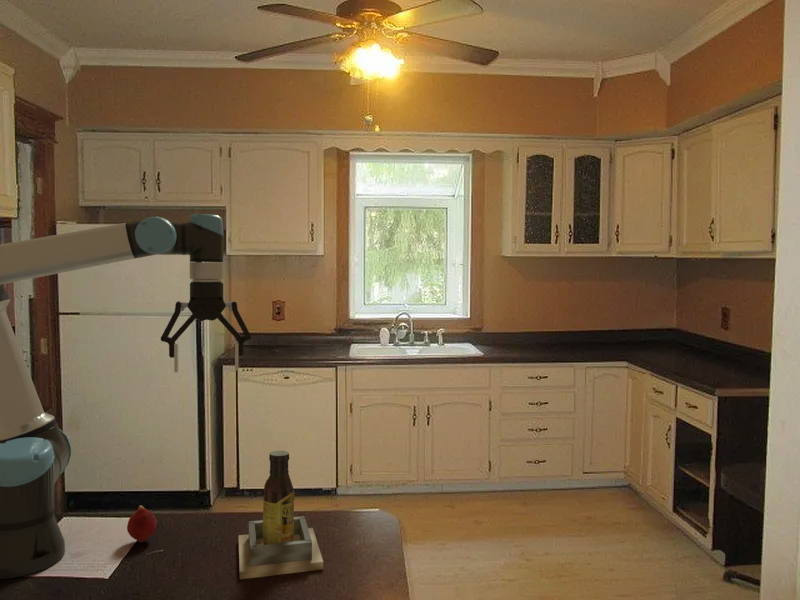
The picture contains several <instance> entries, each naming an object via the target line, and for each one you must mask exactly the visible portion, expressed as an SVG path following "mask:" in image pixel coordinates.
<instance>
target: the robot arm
mask: <svg viewBox="0 0 800 600" xmlns="http://www.w3.org/2000/svg"><path fill="white" fill-rule="evenodd" d="M155 255H159V256H160V255H164V256H166V255H167V256H169V255H171V256H172V255H173V256H175V255H176V256H177V255H178V256H181V255H182V256H187V255H188V256H189V279H190V280H192V281H191V282H190V283H189V301H188V302H185V301H184V302H183V301H181V300H177V301H176V302H175V305H174V306H175V307H174V312H173V313H172V315H171V318H170V320H169V321H168V324H167V325H166V326H165V329H164V331H163V333H162V334H161V337H160V341H161V342H163V343H167V344H168V356H169V358H170V359H171V358H172V359H173V362H174V363H173V365H174V369H173V373H179V370H180V367H179V366H180V365H179V361H180V360H179V355H180V353H179V349H180V346H179V342H176V341H177V340H178V339H180V337H181V336H182V334H184V332H185V331H186V330H187V329H188V328H189V327H190V326H191V324H192V323H193V322H194V321H195V320H197V321H202V322H203V321H212V322H213V321H215V320H217V319H218V321H219V322H220V323H221V324H222V325H223V326H224V327H225V328H226V329H227V331H228V332H229V333H230V334H231V335H232V336H233V337H234V338H235V339H236V341H235V342H234V369H235V370H234V371H239V357H241V356H242V357H243V356H244V343H245V342H246V341H251V339H252V335H251V333H250V331H249V330H248V328H247V325H246V323H245V321H244V320H243V318H242V316H241V314H240V312H239V310H238V302H237V301H236V300H233V301H228V302H226V301H224V283H223V281H222V280H223V279H224V225H223V218H222V217H221V216H219V215H218V214H211V213H210V214H209V213H193V214H190V216H189V220H188V222H187V221H186V222H178V221H177V222H175V221H173V222H172V221H169V220H168V219H166V218H164V217H162V216H161V217H160V216H157V215H156V216H148V217H145V218H144V219H140V220H135V221H129V222H124V223H117V224H111V225H105V226H99V227H93V228H88V229H82V230H77V231H71V232H66V233H65V232H64V233H59V234H54V235H47V236H42V237H35V238H31V239H23V240H19V241H12V242H8V243H2V244H0V580H7V579H15V578H21V577H25V576H29V575H32V573H33V574H36V573H38V572H41V571H43V569H44V570H46V569H47V568H50V567H52V566H53V565H55V564H56V563H58V562H59V561H60V560H61V559H62V558H63V557H64V556H65V553H66V547H65V546H66V543H65V538H64V536H63V533H62V532H61V529H60V526H59V524H58V521H57V519H56V516H55V484H56V482H57V481H58V479H59V478H60V477H61V475H62V474H63V472H64V471H65V470H66V469H67V467H68V465H69V463H70V460H71V456H72V443H71V441H70V438H69V436H68V435H67V434H66V433H65V432H64V431H63V430H62V429H60V427H59V425H58V423H57V421H56V418H55V416H54V415H52V414H49V413H47V412H45V411H44V408H43V406H42V403H41V400H40V397H39V396H38V395H39V394H38V393H37V389H36V386H35V384H34V382H33V379H32V377H31V374H30V371H29V368H28V366H27V363H26V361H25V359H24V356H23V353H22V351H21V348H20V346H19V343H18V341H17V338H16V334H15V332H14V329H13V327H12V324H11V321H10V320H9V316H8V314H7V311H6V309H7V307H8V305H9V304H10V302H11V299H10V296H9V294H8V291H7V288H6V286H5V285H6V284H11V283H15V282H20V281H25V280H26V281H27V280H31V279H37V278H42V277H46V276H47V277H48V276H51V275H56V274H62V273H68V272H73V271H76V270H82V269H87V268H92V267H99V266H102V265H104V266H105V265H108V264H113V263H118V262H123V261H129V260H133V259H140V258H145V257H151V256H155ZM186 308H188V310H189V311H190V312H191V315H190V316H189V317H188V318H187V319H186V320H185V322H183V324H182V325H180V327H179V329H178V330H176V332H175V333H174V334H173V335H172V336H169V335H170V334H171V331H172V330H173V328H174V326H175V324H176V323H177V321H178V319H179V316H180V315H181V312H183V311H185V310H186ZM225 308H227V309H228V310H229V311H230V312H232V314H233V315H234V318H235V320H236V322H237V324H238V325H239V327H240V329H241V331H242V333H243V335H241V334H240V332H239V331H238V330H237V329H236V328H235V327H234V326H233V325H232V324H231V322H229V320H228V319H227V318H226V316H224V315H223V314H222V312H223V311H224V310H225ZM40 570H41V571H40ZM37 571H38V572H37ZM35 572H36V573H35ZM28 574H29V575H28Z"/></svg>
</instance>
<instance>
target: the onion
mask: <svg viewBox="0 0 800 600" xmlns="http://www.w3.org/2000/svg"><path fill="white" fill-rule="evenodd" d="M137 509H138V510H136V511H135V512H134V513H133V514H132V515H131V516H130V517H129V519H128V521H127V526H126V529H127V530H126V531H127V533H128V534H129V536H130V537H131V538H132V539H134V540H136V541H137V542H138V543H144V542H145V541H146V540H148V539H150V538H151V537H152V536H153V535H154V533H155V531H156V529H157V524H158V523H157V518H156V515H155V514H154V513H153V512H152V511H150V510H148V509H146V508H145V507H144V506H143V505H138V508H137Z"/></svg>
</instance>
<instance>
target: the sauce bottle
mask: <svg viewBox="0 0 800 600" xmlns="http://www.w3.org/2000/svg"><path fill="white" fill-rule="evenodd" d="M268 457H269V458H268V459H269V476H268V477H267V479H266V481H265V483H264V485H263V486H264V487H263V503H262V506H263V507H262V520H263V542H264V544H263V545H266V544H275V543H285V542H293V535H294V517H295V488H294V487H293V483H292V480H291V477H290V474H289V473H290V472H289V461H290V452H289V451H286V450H274V451H271V452H270V453H269V456H268Z"/></svg>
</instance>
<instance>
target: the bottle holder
mask: <svg viewBox="0 0 800 600" xmlns="http://www.w3.org/2000/svg"><path fill="white" fill-rule="evenodd" d="M263 544H264V542H263V519H261V520H250V521H248V534H239V535H238V563H239V564H238V565H239V568H238V570H239V580H245V579H255V578H264V577H270V576H279V575H287V574H294V573H296V574H297V573H304V572H310V571H311V572H312V571H318V570H319V571H320V570H324V559H323V556H322V553H321V550H320V547H319V544H318V541H317V537H316V534H315V531H314V528H313V527H308V523H307V520H306V516H305V515H303V516H301V515H300V516H294V535H293V542H285V543H275V544H266V545H263Z"/></svg>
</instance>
